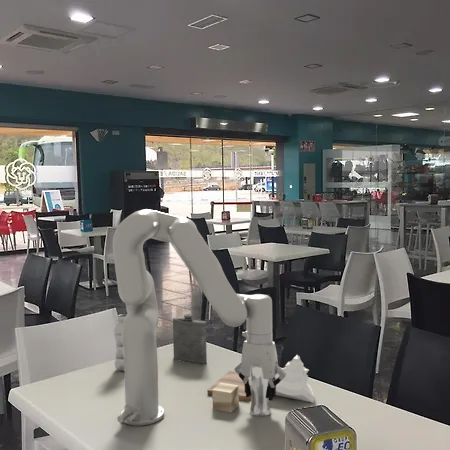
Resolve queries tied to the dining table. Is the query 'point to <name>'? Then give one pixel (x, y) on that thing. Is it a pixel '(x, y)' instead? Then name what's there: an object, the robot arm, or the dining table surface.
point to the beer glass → (259, 392)
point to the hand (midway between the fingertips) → (260, 396)
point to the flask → (189, 340)
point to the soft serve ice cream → (295, 382)
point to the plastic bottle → (119, 344)
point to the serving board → (235, 380)
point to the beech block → (225, 397)
